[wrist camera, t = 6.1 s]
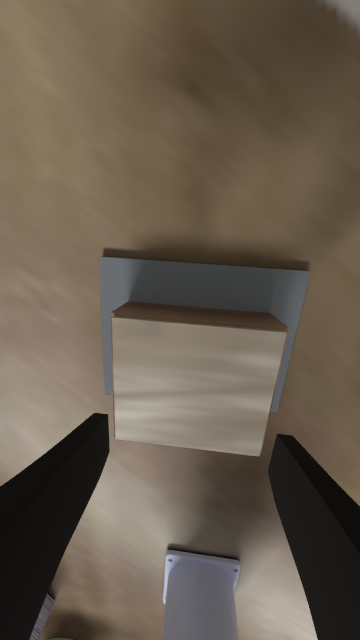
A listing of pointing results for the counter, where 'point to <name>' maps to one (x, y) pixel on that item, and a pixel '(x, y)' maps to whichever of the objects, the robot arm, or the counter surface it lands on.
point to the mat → (202, 295)
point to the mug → (60, 638)
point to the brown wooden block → (194, 375)
